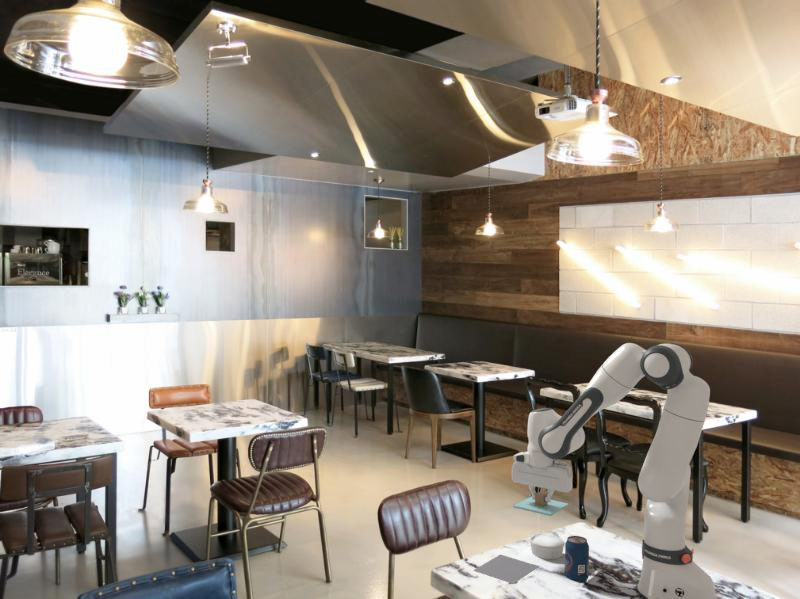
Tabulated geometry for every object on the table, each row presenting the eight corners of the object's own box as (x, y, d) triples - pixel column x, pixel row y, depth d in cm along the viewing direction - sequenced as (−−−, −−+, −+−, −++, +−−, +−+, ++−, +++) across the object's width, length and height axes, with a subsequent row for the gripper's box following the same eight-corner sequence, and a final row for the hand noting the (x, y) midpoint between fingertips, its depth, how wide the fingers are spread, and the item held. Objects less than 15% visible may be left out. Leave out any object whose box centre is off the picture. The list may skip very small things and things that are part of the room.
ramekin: (529, 547, 219) (529, 532, 218) (563, 550, 216) (563, 534, 216) (529, 561, 208) (529, 544, 208) (565, 564, 205) (565, 547, 205)
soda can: (561, 574, 198) (561, 535, 198) (583, 573, 199) (583, 534, 198) (570, 584, 191) (570, 544, 191) (592, 583, 192) (592, 543, 192)
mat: (539, 568, 202) (539, 566, 202) (513, 586, 189) (513, 583, 189) (500, 556, 211) (500, 554, 211) (473, 572, 198) (473, 570, 198)
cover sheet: (568, 505, 210) (568, 492, 210) (550, 516, 200) (550, 502, 200) (532, 497, 219) (532, 485, 219) (513, 507, 209) (513, 494, 209)
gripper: (575, 461, 205) (575, 504, 205) (518, 451, 218) (518, 492, 218) (567, 465, 200) (567, 509, 201) (509, 455, 213) (509, 496, 213)
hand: (541, 500), depth 210 cm, fingers closed on cover sheet, 3 cm apart
